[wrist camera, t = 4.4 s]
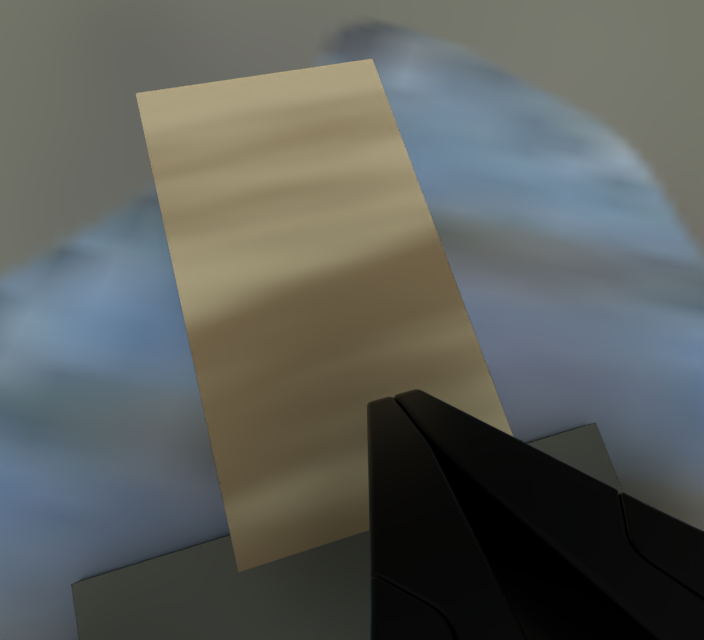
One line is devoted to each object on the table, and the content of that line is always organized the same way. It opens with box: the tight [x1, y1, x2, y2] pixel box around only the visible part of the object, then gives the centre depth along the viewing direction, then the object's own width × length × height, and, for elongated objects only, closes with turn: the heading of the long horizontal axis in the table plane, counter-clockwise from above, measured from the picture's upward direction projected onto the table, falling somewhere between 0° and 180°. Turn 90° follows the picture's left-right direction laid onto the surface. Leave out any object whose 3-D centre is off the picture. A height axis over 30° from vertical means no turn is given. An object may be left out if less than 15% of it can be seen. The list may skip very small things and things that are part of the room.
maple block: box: [136, 59, 513, 572], centre depth 14 cm, size 4×6×11 cm
